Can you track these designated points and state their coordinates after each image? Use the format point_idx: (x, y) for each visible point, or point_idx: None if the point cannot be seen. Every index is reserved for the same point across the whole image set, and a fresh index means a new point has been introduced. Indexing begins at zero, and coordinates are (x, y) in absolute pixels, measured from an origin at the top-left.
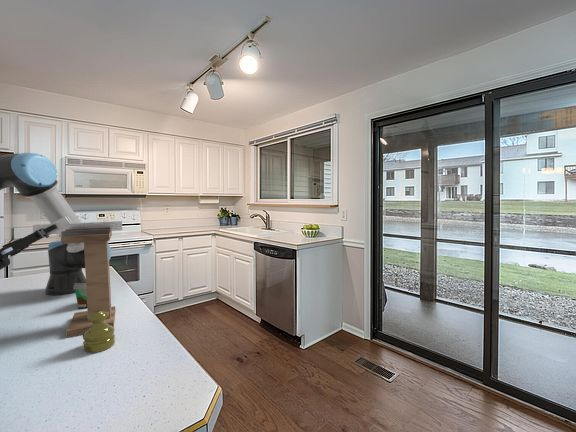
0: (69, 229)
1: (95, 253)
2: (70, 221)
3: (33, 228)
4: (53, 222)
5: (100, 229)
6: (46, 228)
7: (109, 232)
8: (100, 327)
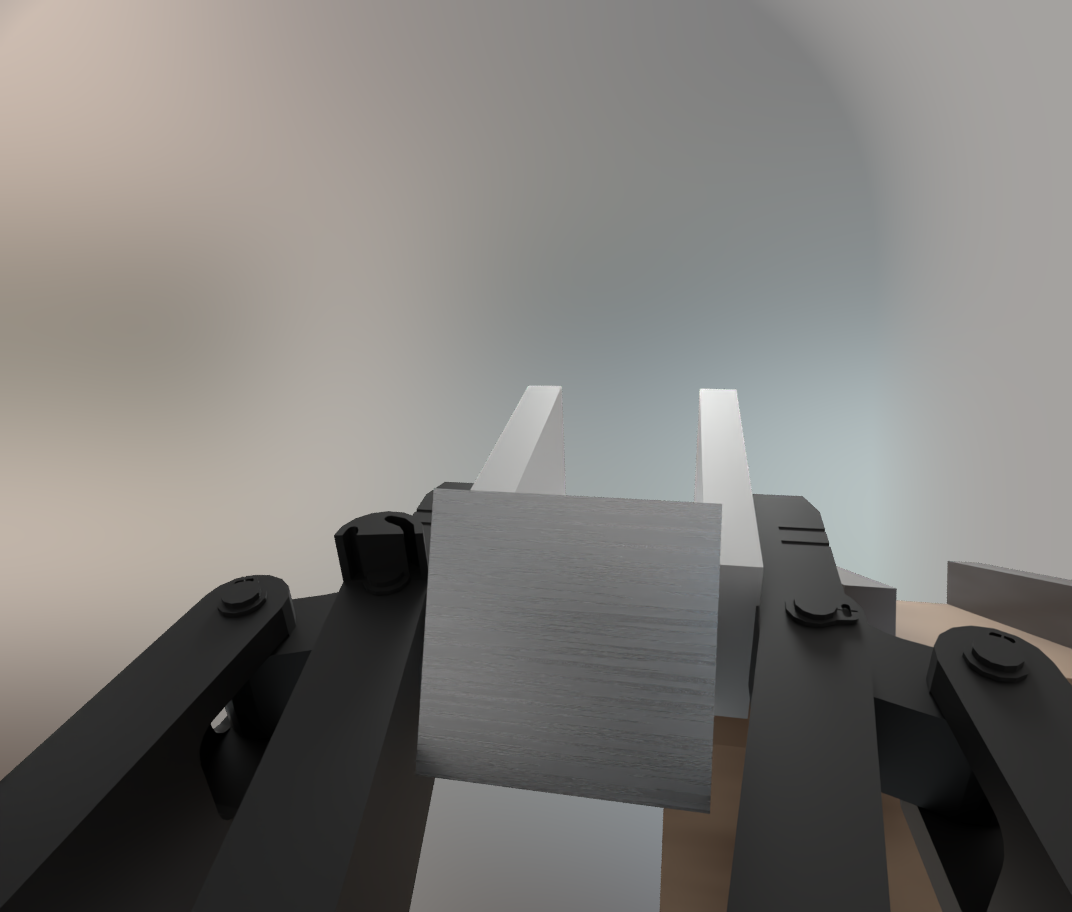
0: (880, 583)
1: None
2: (564, 473)
3: (711, 599)
4: (746, 465)
5: (1003, 568)
6: (839, 581)
7: (948, 594)
8: None
